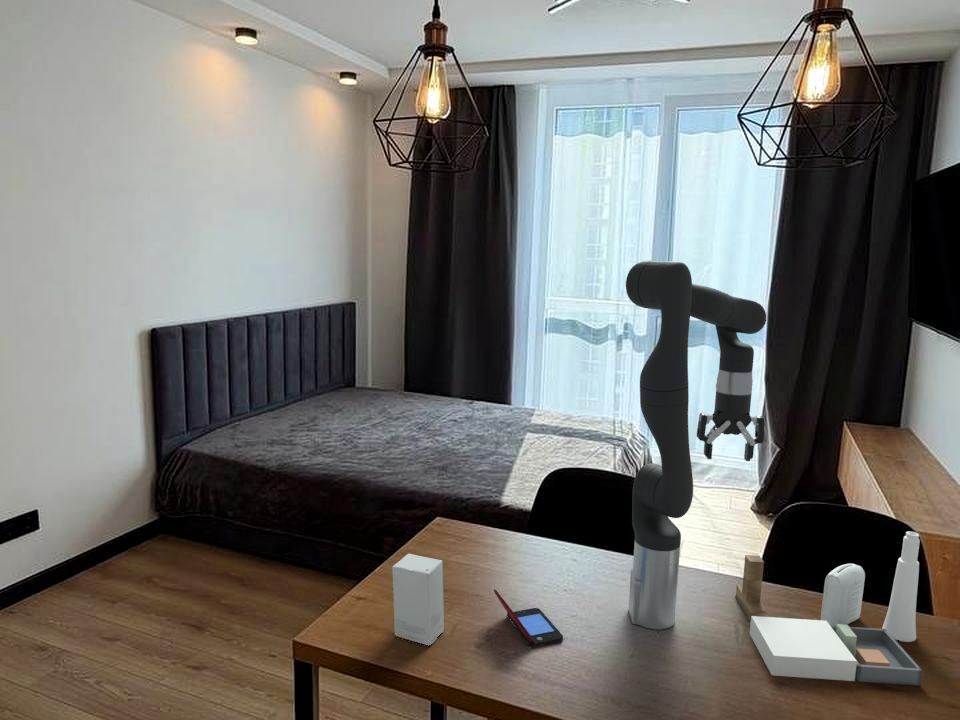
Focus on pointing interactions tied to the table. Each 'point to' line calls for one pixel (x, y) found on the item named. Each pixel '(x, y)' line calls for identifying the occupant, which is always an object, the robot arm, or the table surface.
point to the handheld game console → (533, 625)
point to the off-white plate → (802, 648)
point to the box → (900, 661)
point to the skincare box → (418, 598)
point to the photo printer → (843, 595)
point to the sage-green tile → (847, 637)
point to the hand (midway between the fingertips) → (727, 459)
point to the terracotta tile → (871, 657)
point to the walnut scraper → (751, 587)
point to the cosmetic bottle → (904, 592)
